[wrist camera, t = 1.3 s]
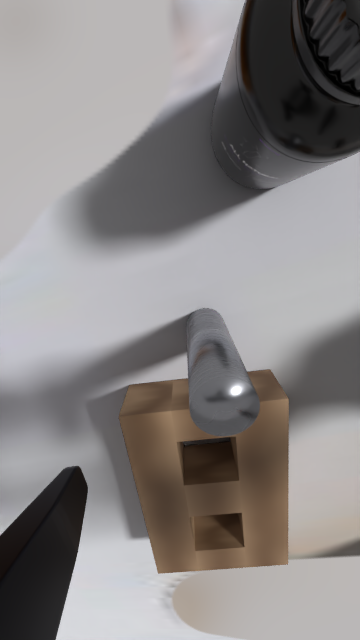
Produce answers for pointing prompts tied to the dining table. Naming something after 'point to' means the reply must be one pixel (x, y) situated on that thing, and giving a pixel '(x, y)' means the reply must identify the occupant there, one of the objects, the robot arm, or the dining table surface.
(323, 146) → the supplement bottle
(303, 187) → the dining table surface
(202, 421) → the peg
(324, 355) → the dining table surface
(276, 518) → the peg board
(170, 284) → the dining table surface
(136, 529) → the dining table surface
